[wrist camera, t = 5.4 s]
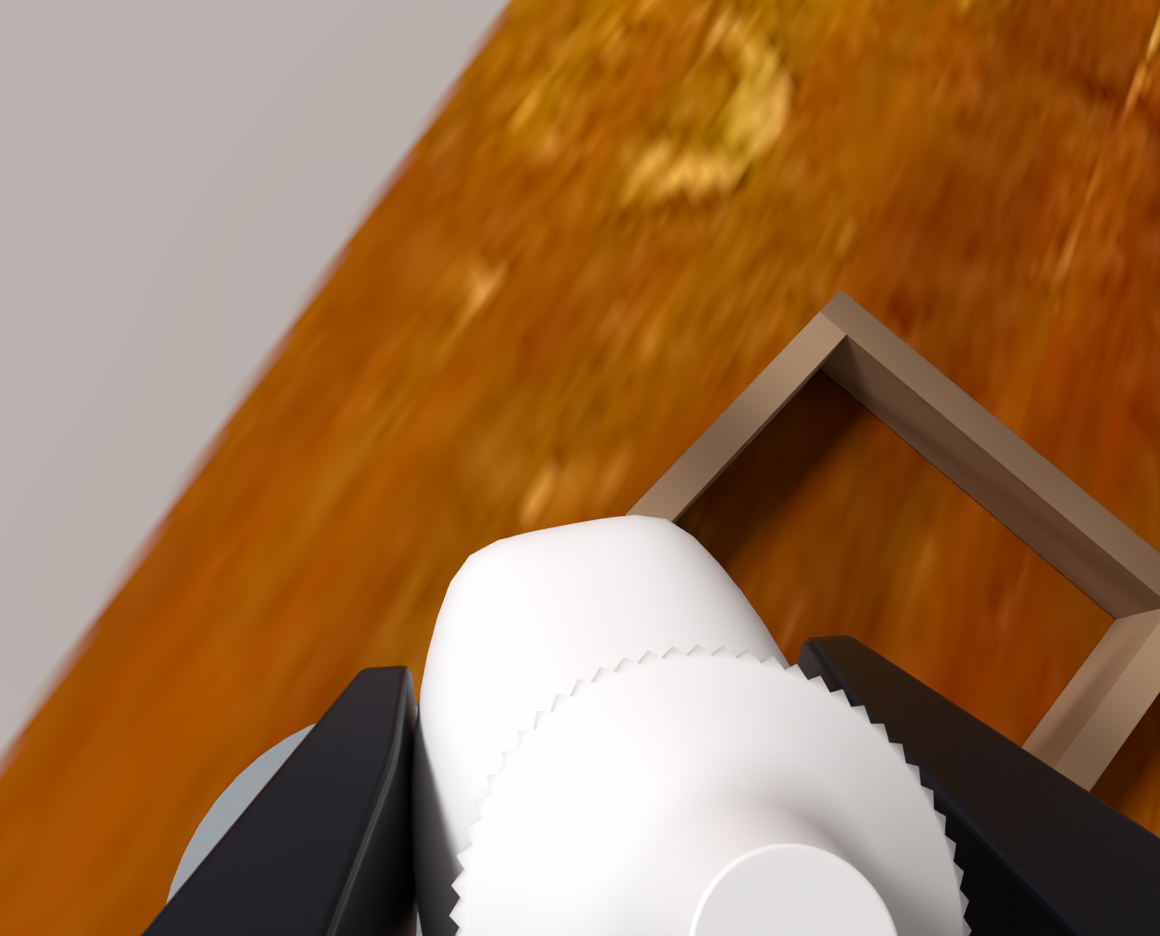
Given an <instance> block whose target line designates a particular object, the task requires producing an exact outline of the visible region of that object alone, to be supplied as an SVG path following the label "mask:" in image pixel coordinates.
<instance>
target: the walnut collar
mask: <svg viewBox="0 0 1160 936" xmlns="http://www.w3.org/2000/svg"><path fill="white" fill-rule="evenodd" d="M819 369H821V370H822V371H823V372H825V373H826V374H827V375H828V376H829V377H830V378H832V379H833V380H834V381H835V382H836V383H837V384H839V385H840V386H841V387H842V388H843V389H845V390H846V391H847V392H848V393H849V394H850V395H852V396H853V397H854V398H855V399H856V400H858V401H859V402H860V403H861V404H862V405H863V406H865V407H866V408H867V409H868V410H869V411H871V412H872V413H873V414H874V415H875V416H876V417H878V418H879V419H880V420H881V421H882V422H883V423H885V424H886V425H887V426H888V427H889V428H891V429H892V430H893V431H894V432H895V433H896V434H898V435H899V436H900V437H901V438H902V439H904V440H905V441H906V442H907V443H908V444H909V445H911V446H912V447H913V448H914V449H915V450H917V451H918V452H919V453H920V454H921V455H922V456H924V457H925V458H926V459H927V460H928V461H930V462H931V463H932V464H933V465H934V466H935V467H937V468H938V469H939V470H940V471H941V472H942V473H944V474H945V475H946V476H947V477H948V478H950V479H951V480H952V481H953V482H954V483H955V484H957V485H958V486H959V487H960V488H961V489H963V490H964V491H965V492H966V493H967V494H968V495H970V496H971V497H972V498H973V499H974V500H976V501H977V502H978V503H979V504H980V505H981V506H983V507H984V508H985V509H986V510H987V511H988V512H990V513H991V514H992V515H993V516H994V517H996V518H997V519H998V520H999V521H1000V522H1001V523H1003V524H1004V525H1005V526H1006V527H1007V528H1009V529H1010V530H1011V531H1012V532H1013V533H1014V534H1016V535H1017V536H1018V537H1019V538H1020V539H1022V540H1023V541H1024V542H1025V543H1026V544H1027V545H1029V546H1030V547H1031V548H1032V549H1033V550H1034V551H1036V552H1037V553H1038V554H1039V555H1040V556H1042V557H1043V558H1044V559H1045V560H1046V561H1047V562H1049V563H1050V564H1051V565H1052V566H1053V567H1055V568H1056V569H1057V570H1058V571H1059V572H1060V573H1062V574H1063V575H1064V576H1065V577H1066V578H1068V579H1069V580H1070V581H1071V582H1072V583H1073V584H1075V585H1076V586H1077V587H1078V588H1079V589H1080V590H1082V591H1083V592H1084V593H1085V594H1086V595H1088V596H1089V597H1090V598H1091V599H1092V600H1093V601H1095V602H1096V603H1097V604H1098V605H1099V606H1101V607H1102V608H1103V609H1104V610H1105V611H1106V612H1108V613H1109V614H1110V615H1111V616H1112V617H1114V618H1115V619H1116V620H1115V621H1114V623H1113V624H1112V626H1111V627H1110V628H1109V630H1108V631H1107V632H1106V634H1105V635H1104V636H1103V638H1102V639H1101V640H1100V642H1099V643H1098V644H1097V646H1096V647H1095V649H1094V650H1093V651H1092V653H1091V654H1090V655H1089V657H1088V658H1087V659H1086V661H1085V662H1084V663H1083V665H1082V666H1081V667H1080V669H1079V670H1078V672H1077V673H1076V674H1075V676H1074V677H1073V678H1072V680H1071V681H1070V682H1069V684H1068V685H1067V686H1066V688H1065V689H1064V690H1063V692H1062V693H1061V694H1060V696H1059V697H1058V699H1057V700H1056V701H1055V703H1054V704H1053V705H1052V707H1051V708H1050V709H1049V711H1048V712H1047V713H1046V715H1045V716H1044V717H1043V719H1042V720H1041V722H1040V723H1039V724H1038V726H1037V727H1036V728H1035V730H1034V731H1033V732H1032V734H1031V735H1030V736H1029V738H1028V739H1027V740H1026V742H1025V743H1024V745H1023V746H1022V747H1021V748H1023V749H1024V750H1026V751H1027V752H1029V753H1031V754H1032V755H1034V756H1035V757H1037V758H1038V759H1040V760H1041V761H1043V762H1044V763H1046V764H1047V765H1049V766H1050V767H1052V768H1053V769H1055V770H1057V771H1058V772H1060V773H1061V774H1063V775H1064V776H1066V777H1067V778H1069V779H1070V780H1072V781H1073V782H1075V783H1076V784H1078V785H1079V786H1081V787H1083V788H1084V789H1086V790H1087V791H1090V790H1091V789H1092V787H1093V786H1094V784H1095V783H1096V781H1097V780H1098V779H1099V777H1100V776H1101V774H1102V773H1103V772H1104V770H1105V769H1106V767H1107V766H1108V764H1109V763H1110V762H1111V760H1112V759H1113V757H1114V756H1115V755H1116V753H1117V752H1118V750H1119V749H1120V747H1121V746H1122V745H1123V743H1124V742H1125V740H1126V739H1127V738H1128V736H1129V735H1130V733H1131V732H1132V730H1133V729H1134V728H1135V726H1136V725H1137V723H1138V722H1139V721H1140V719H1141V718H1142V716H1143V715H1144V713H1145V712H1146V711H1147V709H1148V708H1149V706H1150V705H1151V704H1152V702H1153V701H1154V699H1155V698H1156V696H1157V695H1158V694H1159V692H1160V553H1158V552H1157V551H1156V550H1155V549H1153V548H1152V547H1151V546H1150V545H1149V544H1147V543H1146V542H1145V541H1144V540H1143V539H1141V538H1140V537H1139V536H1138V535H1137V534H1135V533H1134V532H1133V531H1132V530H1131V529H1129V528H1128V527H1127V526H1126V525H1125V524H1123V523H1122V522H1121V521H1120V520H1118V519H1117V518H1116V517H1115V516H1114V515H1112V514H1111V513H1110V512H1109V511H1108V510H1106V509H1105V508H1104V507H1103V506H1102V505H1100V504H1099V503H1098V502H1097V501H1096V500H1094V499H1093V498H1092V497H1091V496H1089V495H1088V494H1087V493H1086V492H1085V491H1083V490H1082V489H1081V488H1080V487H1079V486H1077V485H1076V484H1075V483H1074V482H1073V481H1071V480H1070V479H1069V478H1068V477H1067V476H1065V475H1064V474H1063V473H1062V472H1061V471H1059V470H1058V469H1057V468H1056V467H1054V466H1053V465H1052V464H1051V463H1050V462H1048V461H1047V460H1046V459H1045V458H1044V457H1042V456H1041V455H1040V454H1039V453H1038V452H1036V451H1035V450H1034V449H1033V448H1032V447H1030V446H1029V445H1028V444H1027V443H1026V442H1024V441H1023V440H1022V439H1021V438H1019V437H1018V436H1017V435H1016V434H1015V433H1013V432H1012V431H1011V430H1010V429H1009V428H1007V427H1006V426H1005V425H1004V424H1003V423H1001V422H1000V421H999V420H998V419H997V418H995V417H994V416H993V415H992V414H990V413H989V412H988V411H987V410H986V409H984V408H983V407H982V406H981V405H980V404H978V403H977V402H976V401H975V400H974V399H972V398H971V397H970V396H969V395H968V394H966V393H965V392H964V391H963V390H962V389H960V388H959V387H958V386H957V385H955V384H954V383H953V382H952V381H951V380H949V379H948V378H947V377H946V376H945V375H943V374H942V373H941V372H940V371H939V370H937V369H936V368H935V367H934V366H933V365H931V364H930V363H929V362H928V361H927V360H925V359H924V358H923V357H922V356H920V355H919V354H918V353H917V352H916V351H914V350H913V349H912V348H911V347H910V346H908V345H907V344H906V343H905V342H904V341H902V340H901V339H900V338H899V337H898V336H896V335H895V334H894V333H893V332H891V331H890V330H889V329H888V328H887V327H885V326H884V325H883V324H882V323H881V322H879V321H878V320H877V319H876V318H875V317H873V316H872V315H871V314H870V313H869V312H867V311H866V310H865V309H864V308H863V307H861V306H860V305H859V304H858V303H856V302H855V301H854V300H853V299H852V298H850V297H849V296H848V295H847V294H846V293H844V292H843V291H842V290H840V291H839V292H838V293H837V294H836V295H835V296H834V297H833V298H832V299H831V300H830V301H829V302H828V303H827V304H826V306H825V307H824V308H823V309H822V310H821V311H820V312H819V313H818V314H817V315H816V316H815V317H814V318H813V319H812V320H811V321H810V322H809V323H808V324H807V325H806V326H805V328H804V329H803V330H802V331H801V332H800V333H799V334H798V335H797V336H796V337H795V338H794V339H793V340H792V341H791V342H790V343H789V344H788V345H787V346H786V347H785V348H784V350H783V351H782V352H781V353H780V354H779V355H778V356H777V357H776V358H775V359H774V360H773V361H772V362H771V363H770V364H769V365H768V366H767V367H766V368H765V369H764V370H763V371H762V373H761V374H760V375H759V376H758V377H757V378H756V379H755V380H754V381H753V382H752V383H751V384H750V385H749V386H748V387H747V388H746V389H745V390H744V391H743V392H742V393H741V395H740V396H739V397H738V398H737V399H736V400H735V401H734V402H733V403H732V404H731V405H730V406H729V407H728V408H727V409H726V410H725V411H724V412H723V413H722V414H721V415H720V417H719V418H718V419H717V420H716V421H715V422H714V423H713V424H712V425H711V426H710V427H709V428H708V429H707V430H706V431H705V432H704V433H703V434H702V435H701V436H700V437H699V438H698V440H697V441H696V442H695V443H694V444H693V445H692V446H691V447H690V448H689V449H688V450H687V451H686V452H685V453H684V454H683V455H682V456H681V457H680V458H679V459H678V460H677V462H676V463H675V464H674V465H673V466H672V467H671V468H670V469H669V470H668V471H667V472H666V473H665V474H664V475H663V476H662V477H661V478H660V479H659V480H658V481H657V482H656V483H655V485H654V486H653V487H652V488H651V489H650V490H649V491H648V492H647V493H646V494H645V495H644V496H643V497H642V498H641V499H640V500H639V501H638V502H637V503H636V504H635V505H634V507H633V508H632V509H631V510H630V511H629V512H628V513H627V514H626V515H625V516H630V515H640V516H647V517H655V518H662V519H667V520H668V521H670V522H672V523H673V524H675V523H676V522H677V521H678V520H679V519H680V518H681V517H682V516H683V515H684V514H685V513H686V511H687V510H688V509H689V508H690V507H691V506H692V505H693V504H694V503H695V502H696V501H697V500H698V499H699V498H700V496H701V495H702V494H703V493H704V492H705V491H706V490H707V489H708V488H709V487H710V486H711V485H712V484H713V483H714V481H715V480H716V479H717V478H718V477H719V476H720V475H721V474H722V473H723V472H724V471H725V470H726V469H727V468H728V466H729V465H730V464H731V463H732V462H733V461H734V460H735V459H736V458H737V457H738V456H739V455H740V454H741V453H742V451H743V450H744V449H745V448H746V447H747V446H748V445H749V444H750V443H751V442H752V441H753V440H754V439H755V438H756V436H757V435H758V434H759V433H760V432H761V431H762V430H763V429H764V428H765V427H766V426H767V425H768V424H769V423H770V421H771V420H772V419H773V418H774V417H775V416H776V415H777V414H778V413H779V412H780V411H781V410H782V409H783V408H784V406H785V405H786V404H787V403H788V402H789V401H790V400H791V399H792V398H793V397H794V396H795V395H796V394H797V393H798V391H799V390H800V389H801V388H802V387H803V386H804V385H805V384H806V383H807V382H808V381H809V380H810V379H811V378H812V376H813V375H814V374H815V373H816V372H817V371H818V370H819Z"/></svg>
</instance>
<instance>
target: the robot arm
mask: <svg viewBox="0 0 1160 936" xmlns="http://www.w3.org/2000/svg"><path fill="white" fill-rule="evenodd" d="M798 666H799V668H800V669H801V671H802V672H803V674H804V675H805V677H806V678H807V680H810V679H812V678H815V677H818V676H821V678H822V679H823V681H824V683H825V685H826V686H827V688H828V690H829V692H830V693H831V692H835V691H838V690H842V689H843V691H844V693H845V695H846V697H847V700H848V702H849V704H850V706H851V707H856V706H863V705H864V707H865V710H866V712H867V715H868V718H869V720H870V723H871V724H884V726H885V730H886V733H887V737H888V740H889V743H897V744H902V746H903V751H904V756H905V761H906V763H907V764H911V765H915V766H918V767H919V774H920V783H921V786H923V787H925V788H928V789H930V790H933V799H934V810H935V811H937V812H939V813H941V814H942V815H944V816H946V821H945V836H947V837H948V838H949V839H951V840H952V841H953V842H955V843H956V847H955V853H954V860H953V862H954V863H955V864H956V865H957V866H958V867H959V868H960V869H961V870H963V871H964V873H963V877H962V881H961V885H960V890H961V892H962V893H963V894H964V895H965V896H966V898H967V899H968V900H969V902H968V905H967V908H966V911H965V913H964V916H963V918H964V919H965V921H966V923H967V924H968V926H969V927H970V929H971V930H972V931H971V933H970V935H969V936H1160V838H1159V837H1157V836H1156V835H1154V834H1153V833H1151V832H1150V831H1148V830H1147V829H1145V828H1144V827H1142V826H1141V825H1139V824H1138V823H1136V822H1135V821H1133V820H1131V819H1130V818H1128V817H1127V816H1125V815H1124V814H1122V813H1121V812H1119V811H1118V810H1116V809H1115V808H1113V807H1112V806H1110V805H1109V804H1107V803H1105V802H1104V801H1102V800H1101V799H1099V798H1098V797H1096V796H1095V795H1093V794H1092V793H1090V792H1089V791H1087V790H1086V789H1084V788H1083V787H1081V786H1079V785H1078V784H1076V783H1075V782H1073V781H1072V780H1070V779H1069V778H1067V777H1066V776H1064V775H1063V774H1061V773H1060V772H1058V771H1057V770H1055V769H1053V768H1052V767H1050V766H1049V765H1047V764H1046V763H1044V762H1043V761H1041V760H1040V759H1038V758H1037V757H1035V756H1034V755H1032V754H1031V753H1029V752H1027V751H1026V750H1024V749H1023V748H1021V747H1020V746H1018V745H1017V744H1015V743H1014V742H1012V741H1011V740H1009V739H1008V738H1006V737H1005V736H1003V735H1001V734H1000V733H998V732H997V731H995V730H994V729H992V728H991V727H989V726H988V725H986V724H985V723H983V722H982V721H980V720H979V719H977V718H975V717H974V716H972V715H971V714H969V713H968V712H966V711H965V710H963V709H962V708H960V707H959V706H957V705H956V704H954V703H953V702H951V701H949V700H948V699H946V698H945V697H943V696H942V695H940V694H939V693H937V692H936V691H934V690H933V689H931V688H930V687H928V686H927V685H925V684H923V683H922V682H920V681H919V680H917V679H916V678H914V677H913V676H911V675H910V674H908V673H907V672H905V671H904V670H902V669H901V668H899V667H897V666H896V665H894V664H893V663H891V662H890V661H888V660H887V659H885V658H884V657H882V656H881V655H879V654H878V653H876V652H875V651H873V650H871V649H870V648H868V647H867V646H865V645H864V644H862V643H861V642H859V641H858V640H856V639H854V638H852V637H850V636H845V635H841V636H827V637H813V638H808V639H807V640H806V641H805V642H804V643H803V645H802V647H801V649H800V654H799V662H798ZM416 718H417V716H416V706H415V697H414V687H413V679H412V674H411V671H410V670H409V668H408V667H406V666H402V665H401V666H386V667H371V668H365V669H363V670H361V671H360V672H359V673H358V674H357V675H356V676H355V677H354V678H353V680H352V681H351V682H350V683H349V684H348V686H347V687H346V688H345V689H344V690H343V692H342V693H341V694H340V695H339V696H338V698H337V699H336V700H335V701H334V703H333V704H332V705H331V706H330V707H329V709H328V710H327V711H326V712H325V713H324V715H323V716H322V717H321V718H320V719H319V721H318V722H317V723H316V724H315V725H314V727H313V728H312V729H311V730H310V731H309V733H308V734H307V735H306V736H305V738H304V739H303V740H302V741H301V742H300V744H299V745H298V746H297V747H296V748H295V750H294V751H293V752H292V753H291V754H290V756H289V757H288V758H287V759H286V760H285V762H284V763H283V764H282V765H281V766H280V768H279V769H278V770H277V771H276V773H275V774H274V775H273V776H272V777H271V779H270V780H269V781H268V782H267V783H266V785H265V786H264V787H263V788H262V789H261V791H260V792H259V793H258V794H257V795H256V797H255V798H254V799H253V800H252V801H251V803H250V804H249V805H248V806H247V808H246V809H245V810H244V811H243V812H242V814H241V815H240V816H239V817H238V818H237V820H236V821H235V822H234V823H233V824H232V826H231V827H230V828H229V829H228V830H227V832H226V833H225V834H224V835H223V836H222V838H221V839H220V840H219V841H218V843H217V844H216V845H215V846H214V847H213V849H212V850H211V851H210V852H209V853H208V855H207V856H206V857H205V858H204V859H203V861H202V862H201V863H200V864H199V865H198V867H197V868H196V869H195V870H194V871H193V873H192V874H191V875H190V876H189V878H188V879H187V880H186V881H185V882H184V884H183V885H182V886H181V887H180V888H179V890H178V891H177V892H176V893H175V894H174V896H173V897H172V898H171V899H170V900H169V902H168V903H167V904H166V905H165V906H164V908H163V909H162V910H161V911H160V913H159V914H158V915H157V916H156V917H155V919H154V920H153V921H152V922H151V923H150V925H149V926H148V927H147V928H146V929H145V931H144V932H143V933H142V934H141V935H140V936H416V933H417V914H418V906H417V897H416V888H415V879H414V870H413V855H412V834H411V773H412V759H413V746H414V733H415V726H416Z"/></svg>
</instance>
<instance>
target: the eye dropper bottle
mask: <svg viewBox="0 0 1160 936" xmlns="http://www.w3.org/2000/svg"><path fill="white" fill-rule="evenodd" d="M945 821H946V816H944V815H942V814H941V813H939V812H937V811H935V810H934V799H933V790H930V789H928V788H925V787H923V786H921V783H920V774H919V767H918V766H915V765H911V764H907V763H906V761H905V756H904V751H903V746H902V744H897V743H889V740H888V737H887V733H886V730H885V726H884V724H871V723H870V720H869V718H868V715H867V712H866V710H865V707H864V705H863V706H856V707H851V706H850V704H849V702H848V700H847V697H846V695H845V693H844V691H843V689H842V690H838V691H835V692H831V693H830V692H829V690H828V688H827V686H826V685H825V683H824V681H823V679H822V678H821V676H818V677H815V678H812V679H810V680H807V678H806V677H805V675H804V674H803V672H802V671H801V669H800V668H799V666H798V665H797V664H796V665H794V666H792V667H790V666H789V665H788V663H787V661H786V659H785V657H784V656H783V654H782V653H781V651H780V649H779V648H778V646H777V645H776V643H775V641H774V640H773V638H772V636H771V635H770V633H769V631H768V630H767V628H766V626H765V625H764V623H763V622H762V620H761V619H760V617H759V616H758V615H757V613H756V612H755V610H754V609H753V607H752V606H751V604H750V603H749V602H748V600H747V599H746V597H745V596H744V594H743V593H742V592H741V590H740V589H739V588H738V587H737V585H736V584H735V583H734V582H733V580H732V579H731V578H730V577H729V575H728V574H727V573H726V571H725V570H724V569H723V568H722V566H721V565H720V564H719V563H718V562H717V561H716V560H715V559H714V558H713V556H712V555H711V554H710V553H709V552H708V551H707V550H706V549H705V548H704V547H703V546H702V545H701V544H700V543H699V542H698V541H697V540H696V539H695V538H694V537H693V536H692V535H690V534H689V533H687V532H686V531H684V530H682V529H681V528H679V527H678V526H676V525H675V524H673V523H672V522H670V521H668V520H667V519H662V518H655V517H647V516H640V515H630V516H622V517H613V518H605V519H598V520H592V521H587V522H581V523H575V524H570V525H564V526H559V527H554V528H549V529H544V530H539V531H533V532H529V533H525V534H521V535H517V536H513V537H509V538H505V539H501V540H498V541H496V542H494V543H492V544H490V545H488V546H487V547H485V548H483V549H481V550H479V551H477V552H476V553H474V554H472V555H470V556H469V557H468V559H467V560H466V561H465V563H464V564H463V566H462V567H461V568H460V570H459V571H458V573H457V574H456V575H455V577H454V578H453V580H452V581H451V582H450V585H449V588H448V590H447V593H446V596H445V599H444V601H443V604H442V607H441V609H440V612H439V615H438V618H437V621H436V625H435V629H434V633H433V636H432V640H431V644H430V648H429V651H428V655H427V660H426V665H425V670H424V675H423V680H422V685H421V690H420V696H419V703H418V711H417V718H416V726H415V733H414V746H413V759H412V773H411V834H412V855H413V870H414V879H415V888H416V897H417V906H418V914H419V920H420V925H421V931H422V936H969V935H970V933H971V931H972V930H971V929H970V927H969V926H968V924H967V923H966V921H965V919H964V918H963V916H964V913H965V911H966V908H967V905H968V902H969V900H968V899H967V898H966V896H965V895H964V894H963V893H962V892H961V890H960V885H961V881H962V877H963V873H964V871H963V870H961V869H960V868H959V867H958V866H957V865H956V864H955V863H954V862H953V860H954V853H955V847H956V843H955V842H953V841H952V840H951V839H949V838H948V837H947V836H945Z"/></svg>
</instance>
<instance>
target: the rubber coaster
mask: <svg viewBox="0 0 1160 936" xmlns="http://www.w3.org/2000/svg"><path fill="white" fill-rule="evenodd" d="M417 711H418V706H416V716H417ZM315 724H316V723H315ZM315 724H313V725H311V726H309V727H307V728H305V729H303V730H301V731H299V732H297V733H295V734H293V735H291V736H290V737H288V738H286V739H284V740H283V741H281V742H280V743H279V744H277V745H276V746H274V747H273V748H271V749H270V750H268V751H267V752H266V753H264V754H263V755H261V756H260V757H259V758H258V759H257V760H256V761H254V762H253V763H252V764H251V765H250V766H249V767H248V768H246V769H245V770H244V771H243V772H242V773H241V774H240V775H239V776H238V777H237V778H236V779H235V780H234V781H233V782H232V783H231V784H230V786H229V787H228V788H227V789H226V790H225V791H224V792H223V793H222V795H221V796H220V797H219V798H218V799H217V800H216V802H215V803H214V805H213V806H212V808H211V809H210V810H209V812H208V813H207V815H206V816H205V818H204V819H203V820H202V822H201V823H200V825H199V826H198V828H197V830H196V832H195V834H194V836H193V837H192V839H191V841H190V843H189V845H188V847H187V849H186V850H185V852H184V854H183V857H182V859H181V862H180V864H179V867H178V869H177V872H176V874H175V877H174V879H173V882H172V884H171V888H170V892H169V896H168V900H167V903H168V902H169V900H170V899H171V898H172V897H173V896H174V894H175V893H176V892H177V891H178V890H179V888H180V887H181V886H182V885H183V884H184V882H185V881H186V880H187V879H188V878H189V876H190V875H191V874H192V873H193V871H194V870H195V869H196V868H197V867H198V865H199V864H200V863H201V862H202V861H203V859H204V858H205V857H206V856H207V855H208V853H209V852H210V851H211V850H212V849H213V847H214V846H215V845H216V844H217V843H218V841H219V840H220V839H221V838H222V836H223V835H224V834H225V833H226V832H227V830H228V829H229V828H230V827H231V826H232V824H233V823H234V822H235V821H236V820H237V818H238V817H239V816H240V815H241V814H242V812H243V811H244V810H245V809H246V808H247V806H248V805H249V804H250V803H251V801H252V800H253V799H254V798H255V797H256V795H257V794H258V793H259V792H260V791H261V789H262V788H263V787H264V786H265V785H266V783H267V782H268V781H269V780H270V779H271V777H272V776H273V775H274V774H275V773H276V771H277V770H278V769H279V768H280V766H281V765H282V764H283V763H284V762H285V760H286V759H287V758H288V757H289V756H290V754H291V753H292V752H293V751H294V750H295V748H296V747H297V746H298V745H299V744H300V742H301V741H302V740H303V739H304V738H305V736H306V735H307V734H308V733H309V731H310V730H311V729H312V728H313V727H314V725H315ZM167 903H166V904H167ZM416 936H422V931H421V925H420V920H419V914H417V933H416Z"/></svg>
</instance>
